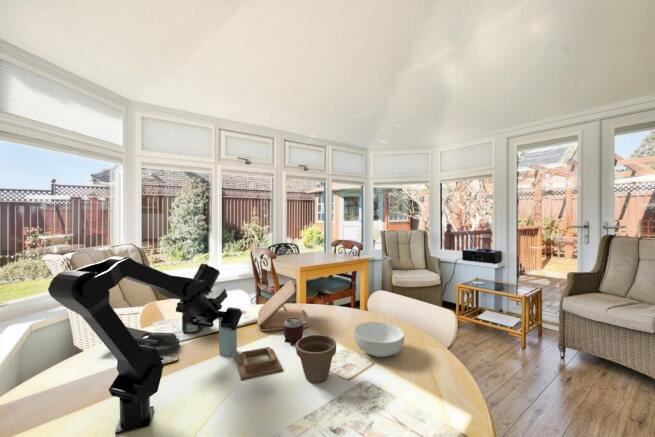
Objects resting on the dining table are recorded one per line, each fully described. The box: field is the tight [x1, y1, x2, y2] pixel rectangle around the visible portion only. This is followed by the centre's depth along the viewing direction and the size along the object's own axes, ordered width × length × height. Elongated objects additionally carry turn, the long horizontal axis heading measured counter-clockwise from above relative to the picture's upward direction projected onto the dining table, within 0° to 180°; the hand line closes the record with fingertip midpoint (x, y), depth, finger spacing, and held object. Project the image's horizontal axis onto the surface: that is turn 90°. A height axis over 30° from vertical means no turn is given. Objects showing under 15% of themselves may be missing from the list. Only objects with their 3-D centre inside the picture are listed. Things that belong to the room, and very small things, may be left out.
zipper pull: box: [126, 326, 180, 356], centre depth 102 cm, size 9×7×25 cm
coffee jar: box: [181, 313, 205, 334], centre depth 118 cm, size 10×8×19 cm
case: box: [257, 279, 310, 333], centre depth 126 cm, size 20×21×16 cm
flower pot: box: [295, 334, 337, 384], centre depth 84 cm, size 12×11×10 cm
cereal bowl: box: [353, 321, 405, 358], centre depth 99 cm, size 17×17×7 cm
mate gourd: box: [280, 304, 304, 347], centre depth 106 cm, size 8×8×15 cm
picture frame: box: [235, 346, 284, 381], centre depth 91 cm, size 14×12×2 cm
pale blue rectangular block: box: [218, 319, 238, 358], centre depth 98 cm, size 4×4×13 cm
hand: (224, 327), depth 96 cm, fingers open, 9 cm apart
